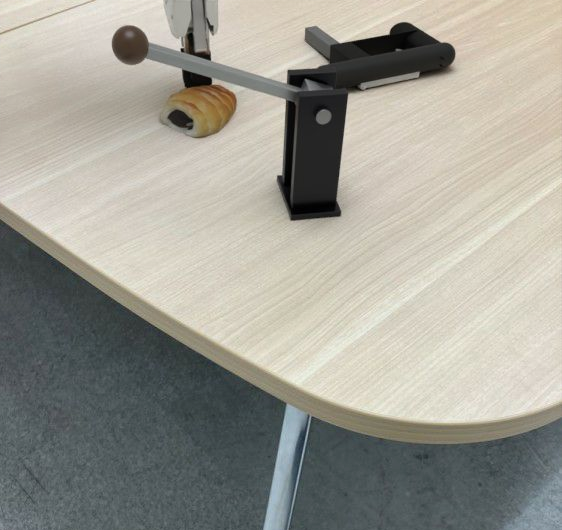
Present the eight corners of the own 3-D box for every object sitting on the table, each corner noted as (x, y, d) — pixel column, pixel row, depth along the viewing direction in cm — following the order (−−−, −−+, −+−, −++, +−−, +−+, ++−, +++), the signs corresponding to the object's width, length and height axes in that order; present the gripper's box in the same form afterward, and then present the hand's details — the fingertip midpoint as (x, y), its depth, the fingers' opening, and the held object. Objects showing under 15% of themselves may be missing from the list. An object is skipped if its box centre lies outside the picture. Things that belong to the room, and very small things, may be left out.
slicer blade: (108, 65, 63) (117, 30, 61) (106, 49, 65) (115, 14, 63) (326, 127, 71) (340, 97, 69) (319, 110, 73) (332, 81, 71)
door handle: (264, 28, 100) (324, 76, 90) (397, 6, 107) (467, 48, 97) (264, 54, 103) (323, 104, 92) (394, 31, 109) (462, 75, 99)
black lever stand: (290, 226, 76) (298, 102, 67) (276, 185, 81) (281, 64, 71) (340, 221, 77) (355, 99, 68) (323, 181, 82) (334, 61, 72)
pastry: (203, 94, 93) (203, 63, 90) (251, 112, 91) (252, 80, 88) (155, 128, 87) (152, 96, 84) (205, 147, 85) (204, 115, 82)
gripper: (140, -115, 82) (157, 57, 95) (156, -63, 72) (173, 120, 85) (212, -119, 83) (219, 51, 96) (237, -68, 73) (241, 113, 87)
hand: (197, 83), depth 91 cm, fingers closed
